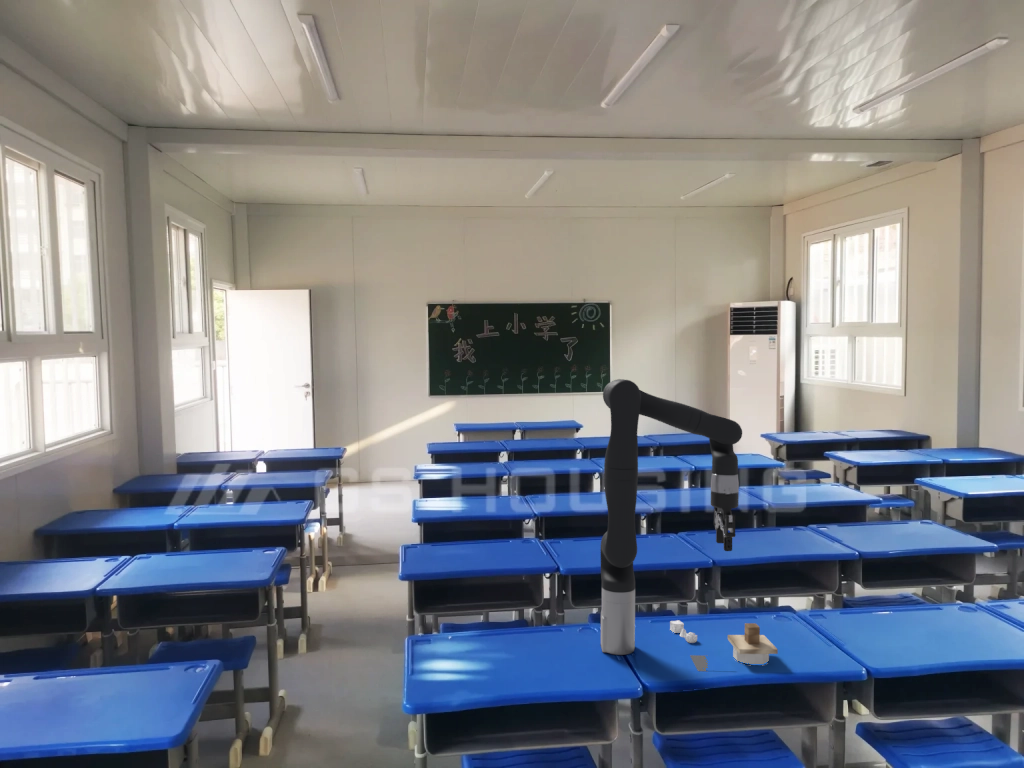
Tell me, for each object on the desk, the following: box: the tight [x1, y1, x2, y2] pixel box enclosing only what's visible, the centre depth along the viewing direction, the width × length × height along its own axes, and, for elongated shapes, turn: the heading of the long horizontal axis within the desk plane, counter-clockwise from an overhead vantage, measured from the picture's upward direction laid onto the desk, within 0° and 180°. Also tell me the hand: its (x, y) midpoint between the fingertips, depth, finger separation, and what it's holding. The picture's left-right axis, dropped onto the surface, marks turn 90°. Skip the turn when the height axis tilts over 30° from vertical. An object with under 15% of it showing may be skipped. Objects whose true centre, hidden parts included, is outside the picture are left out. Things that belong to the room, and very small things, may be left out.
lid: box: [727, 622, 779, 655], centre depth 192 cm, size 10×10×6 cm
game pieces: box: [669, 619, 698, 644], centre depth 208 cm, size 12×3×3 cm, turn 14°
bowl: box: [732, 645, 770, 664], centre depth 192 cm, size 9×9×4 cm
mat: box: [689, 654, 708, 672], centre depth 189 cm, size 10×10×1 cm
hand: (723, 546), depth 202 cm, fingers open, 8 cm apart
